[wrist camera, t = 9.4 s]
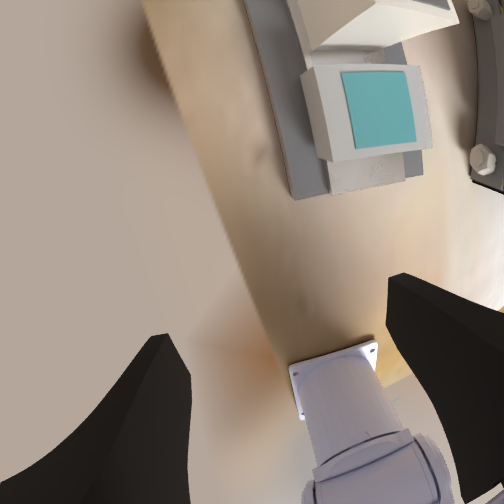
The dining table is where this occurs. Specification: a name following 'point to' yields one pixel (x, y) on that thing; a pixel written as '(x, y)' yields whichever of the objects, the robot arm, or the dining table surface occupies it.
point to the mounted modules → (366, 110)
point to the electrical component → (489, 94)
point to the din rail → (356, 170)
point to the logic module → (372, 22)
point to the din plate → (299, 98)
